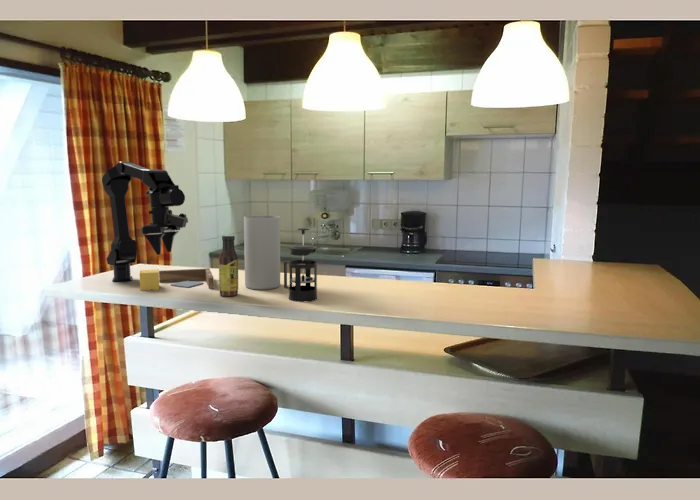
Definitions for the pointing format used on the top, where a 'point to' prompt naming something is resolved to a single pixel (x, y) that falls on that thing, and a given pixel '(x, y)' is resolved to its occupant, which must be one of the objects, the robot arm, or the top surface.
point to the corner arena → (187, 276)
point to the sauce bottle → (228, 267)
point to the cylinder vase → (262, 252)
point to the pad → (187, 284)
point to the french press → (300, 291)
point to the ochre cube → (149, 279)
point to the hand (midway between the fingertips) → (164, 253)
